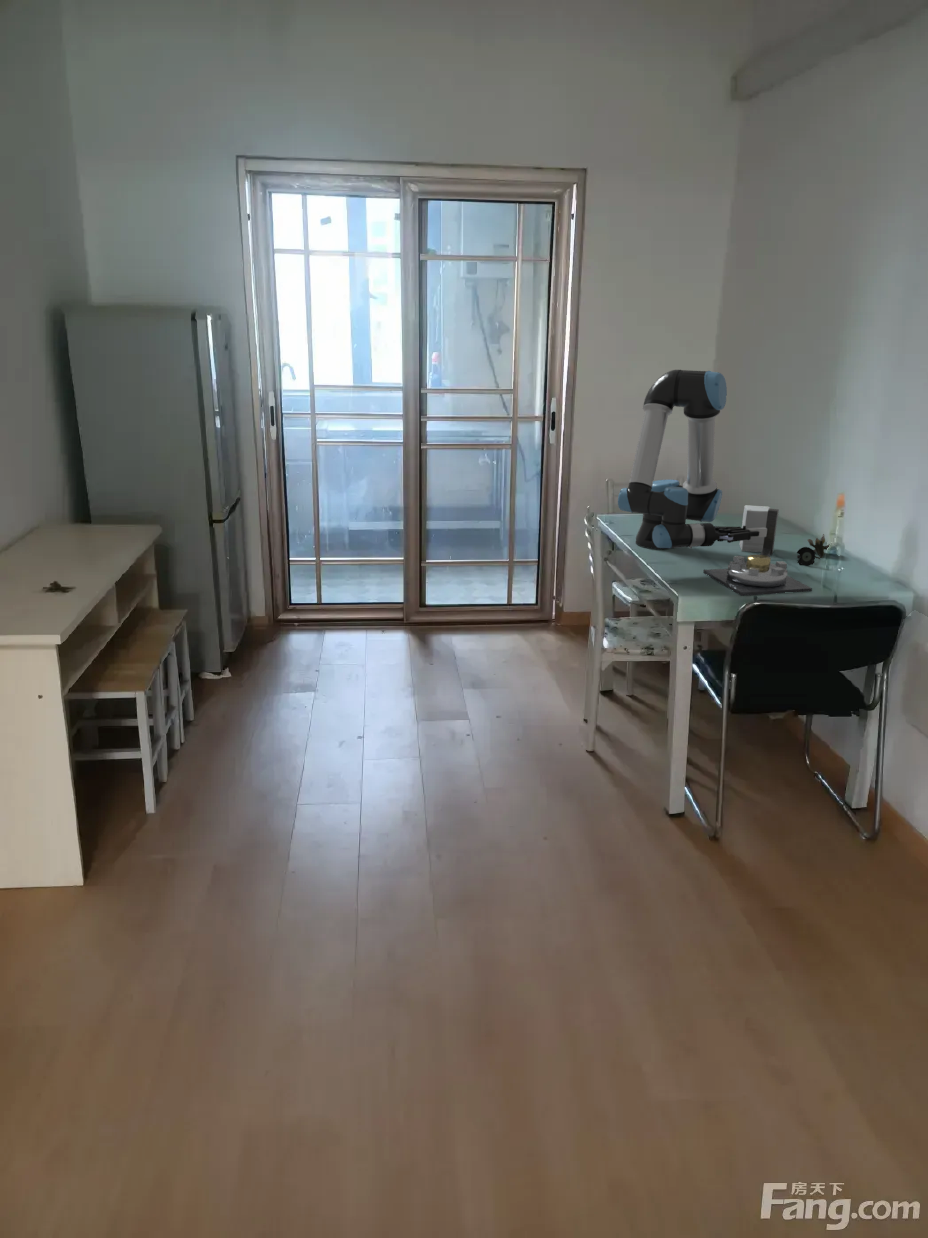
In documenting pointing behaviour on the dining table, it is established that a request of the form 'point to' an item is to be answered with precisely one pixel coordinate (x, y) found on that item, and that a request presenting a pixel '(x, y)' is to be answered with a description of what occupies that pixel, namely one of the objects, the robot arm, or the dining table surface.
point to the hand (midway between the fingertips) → (765, 532)
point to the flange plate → (744, 589)
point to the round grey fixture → (753, 575)
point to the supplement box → (754, 526)
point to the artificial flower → (811, 552)
